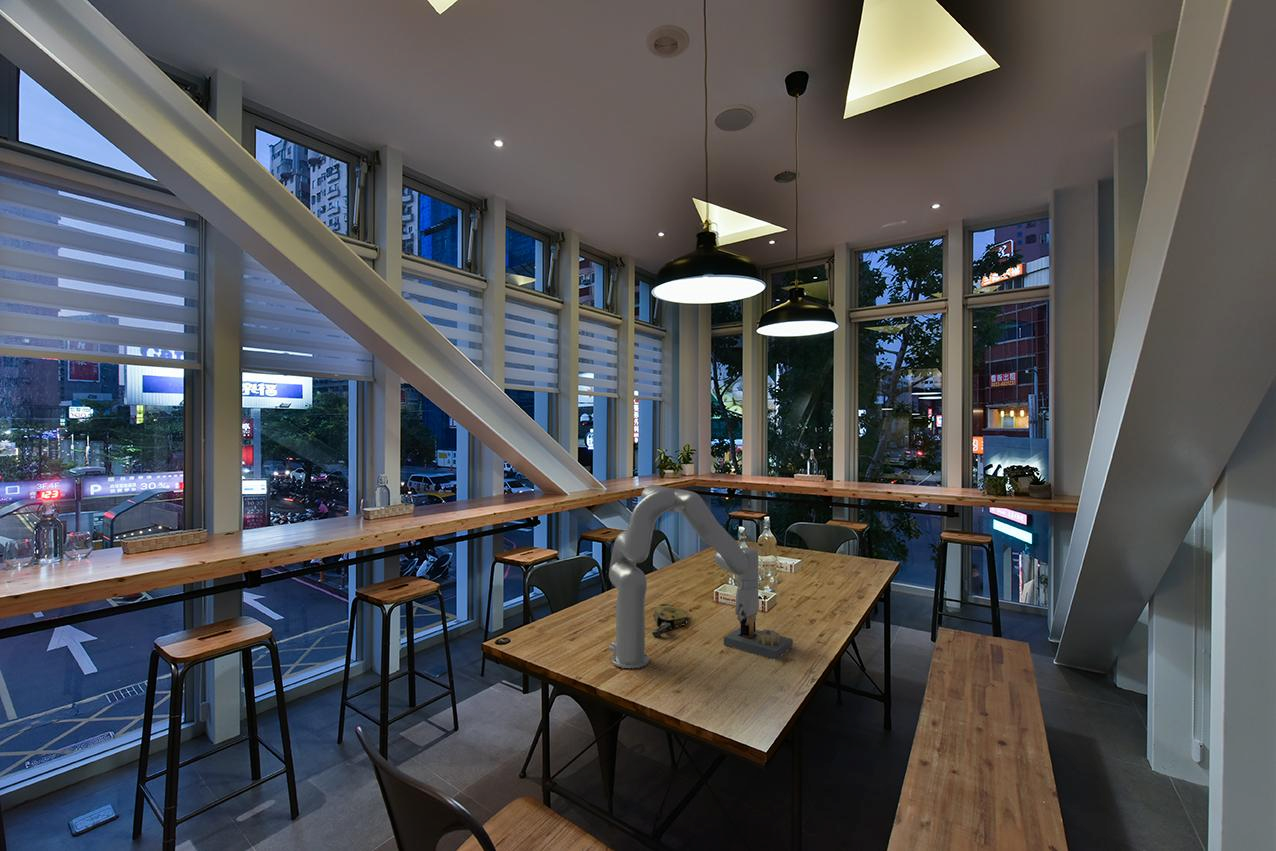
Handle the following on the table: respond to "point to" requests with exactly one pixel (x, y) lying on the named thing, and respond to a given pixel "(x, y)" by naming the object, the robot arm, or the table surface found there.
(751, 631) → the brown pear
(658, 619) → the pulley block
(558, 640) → the table surface
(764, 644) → the housing
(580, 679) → the table surface
